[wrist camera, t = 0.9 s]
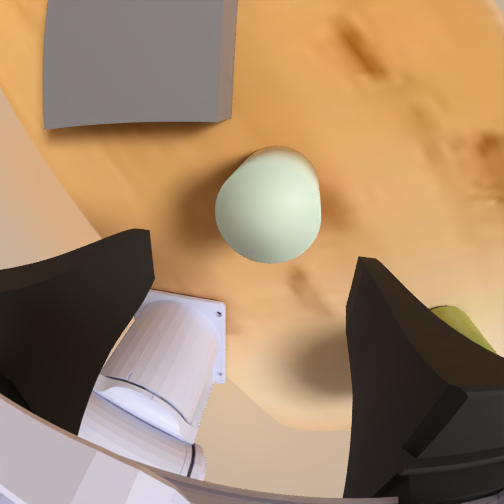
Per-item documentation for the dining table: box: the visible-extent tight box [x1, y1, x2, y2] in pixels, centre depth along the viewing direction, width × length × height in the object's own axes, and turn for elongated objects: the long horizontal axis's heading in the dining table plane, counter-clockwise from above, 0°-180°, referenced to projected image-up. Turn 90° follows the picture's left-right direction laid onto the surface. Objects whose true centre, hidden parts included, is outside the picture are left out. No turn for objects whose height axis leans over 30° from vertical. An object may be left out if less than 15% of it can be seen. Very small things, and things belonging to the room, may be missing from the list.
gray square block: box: [43, 0, 238, 130], centre depth 14 cm, size 12×12×3 cm
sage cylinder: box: [215, 146, 321, 263], centre depth 17 cm, size 5×5×5 cm
